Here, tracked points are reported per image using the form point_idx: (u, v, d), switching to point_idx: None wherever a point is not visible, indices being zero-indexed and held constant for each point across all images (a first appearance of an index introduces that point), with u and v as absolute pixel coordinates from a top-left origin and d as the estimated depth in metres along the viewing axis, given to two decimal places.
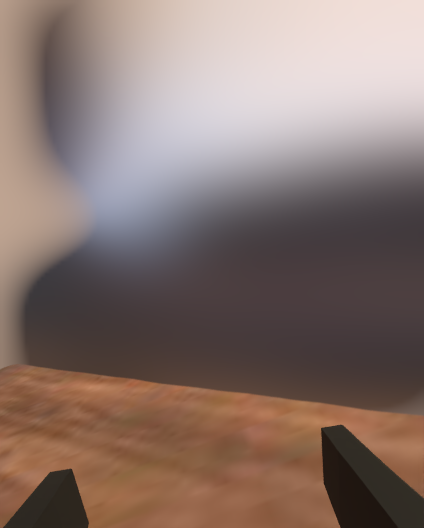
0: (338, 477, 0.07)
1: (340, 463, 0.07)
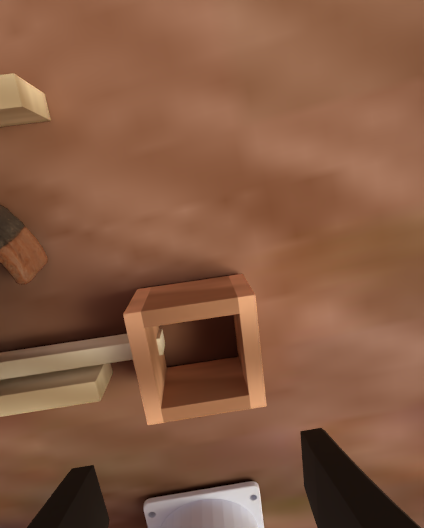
0: (315, 481, 0.07)
1: (316, 467, 0.07)
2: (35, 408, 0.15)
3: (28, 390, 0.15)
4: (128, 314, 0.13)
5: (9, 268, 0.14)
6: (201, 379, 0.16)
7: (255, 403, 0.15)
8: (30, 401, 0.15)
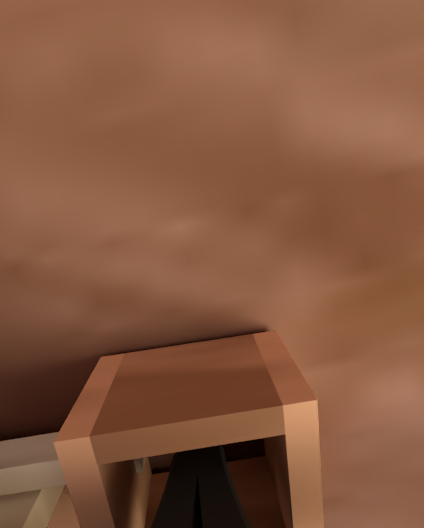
0: None
1: None
2: None
3: None
4: (64, 442, 0.07)
5: None
6: None
7: None
8: None
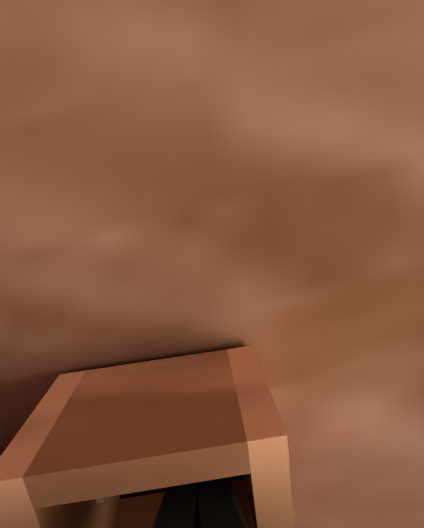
0: None
1: None
2: None
3: None
4: None
5: None
6: None
7: None
8: None
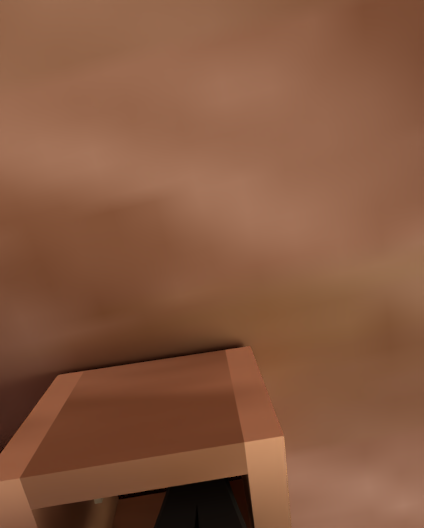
0: None
1: None
2: None
3: None
4: None
5: None
6: None
7: None
8: None
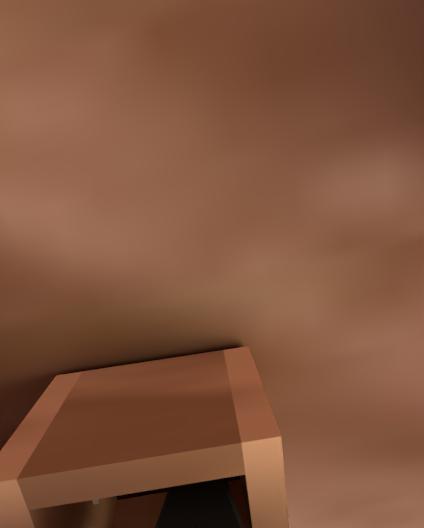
0: None
1: None
2: None
3: None
4: None
5: None
6: None
7: None
8: None
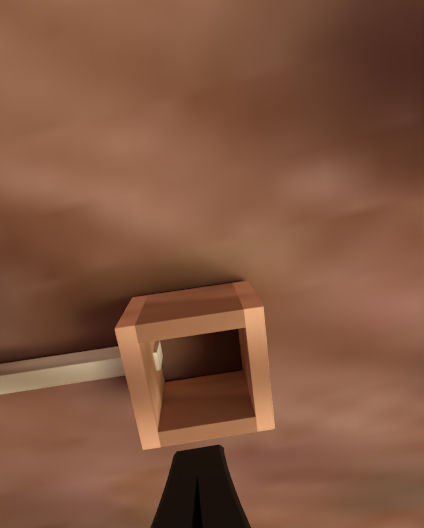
0: None
1: None
2: None
3: None
4: (120, 328, 0.12)
5: None
6: (202, 396, 0.15)
7: (263, 426, 0.13)
8: None
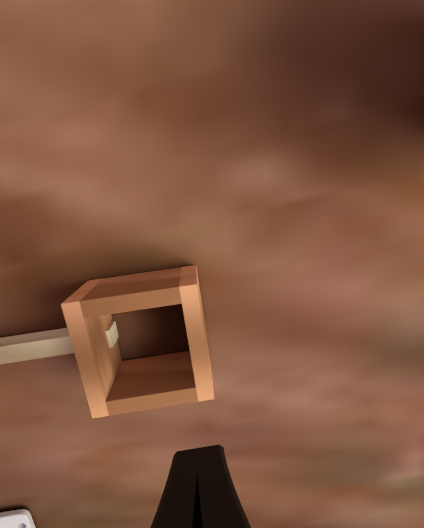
0: None
1: None
2: None
3: None
4: (66, 304, 0.13)
5: None
6: (153, 372, 0.16)
7: (203, 396, 0.14)
8: None
